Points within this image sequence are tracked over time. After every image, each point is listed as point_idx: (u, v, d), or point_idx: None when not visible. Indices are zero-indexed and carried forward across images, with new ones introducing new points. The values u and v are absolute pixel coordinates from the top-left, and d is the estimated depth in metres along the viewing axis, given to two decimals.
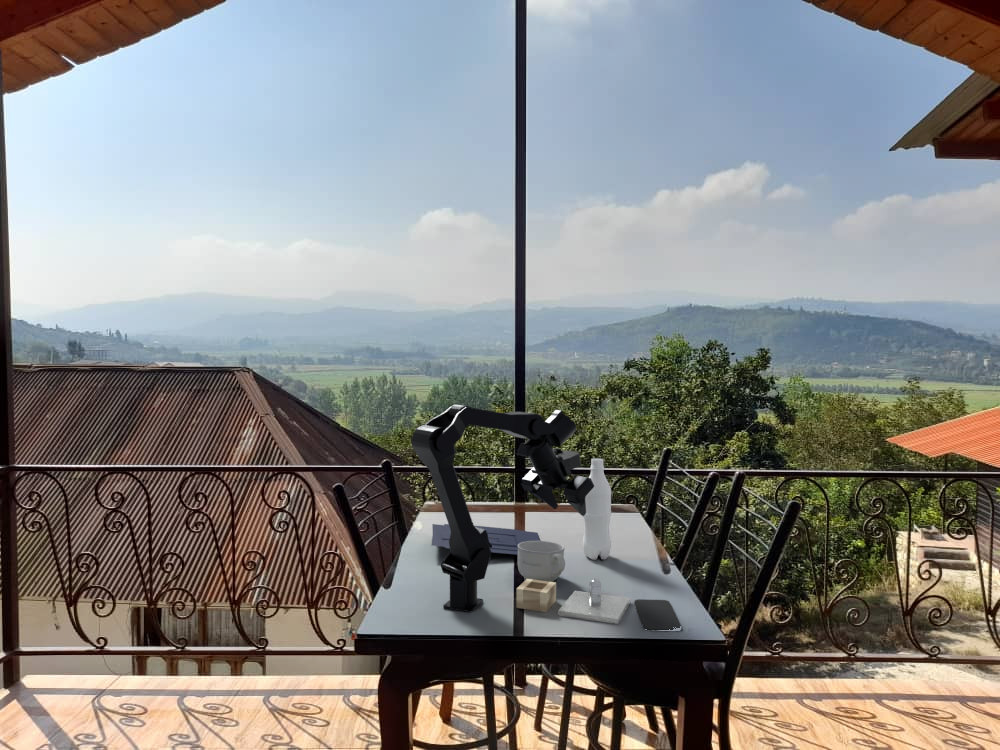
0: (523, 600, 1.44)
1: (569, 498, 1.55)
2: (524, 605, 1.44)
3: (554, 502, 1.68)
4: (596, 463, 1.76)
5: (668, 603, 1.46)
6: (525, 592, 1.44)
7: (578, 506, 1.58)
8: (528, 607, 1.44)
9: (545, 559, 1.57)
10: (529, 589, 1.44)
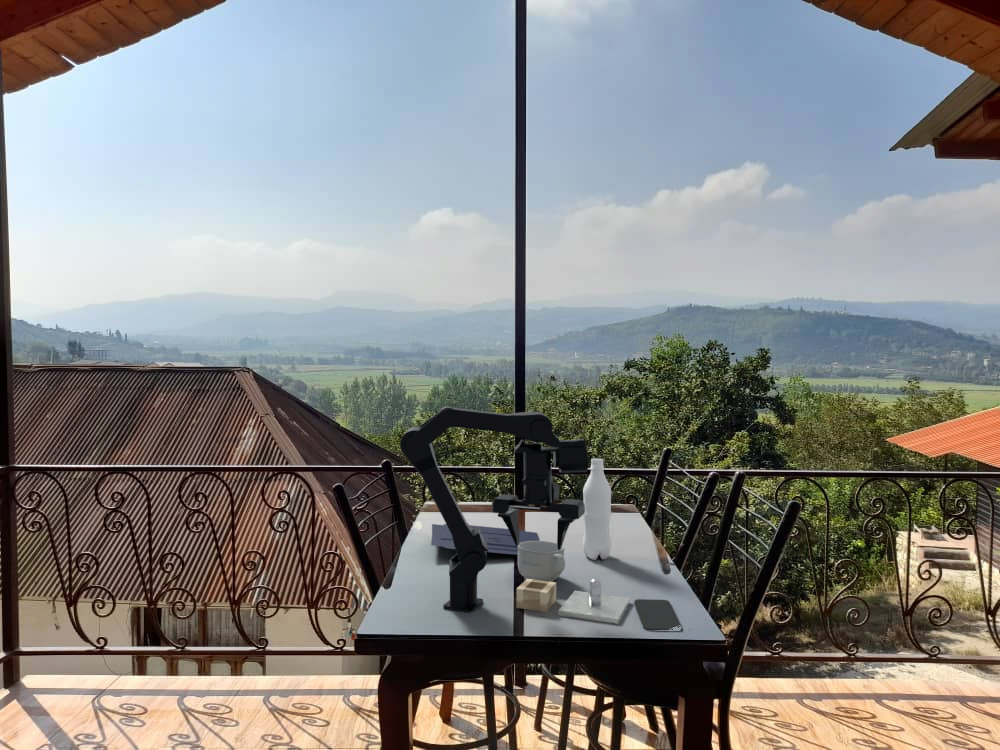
0: (523, 600, 1.44)
1: (564, 514, 1.41)
2: (524, 605, 1.44)
3: (518, 537, 1.48)
4: (596, 463, 1.76)
5: (668, 603, 1.46)
6: (525, 592, 1.44)
7: (564, 531, 1.43)
8: (528, 607, 1.44)
9: (545, 559, 1.57)
10: (529, 589, 1.44)
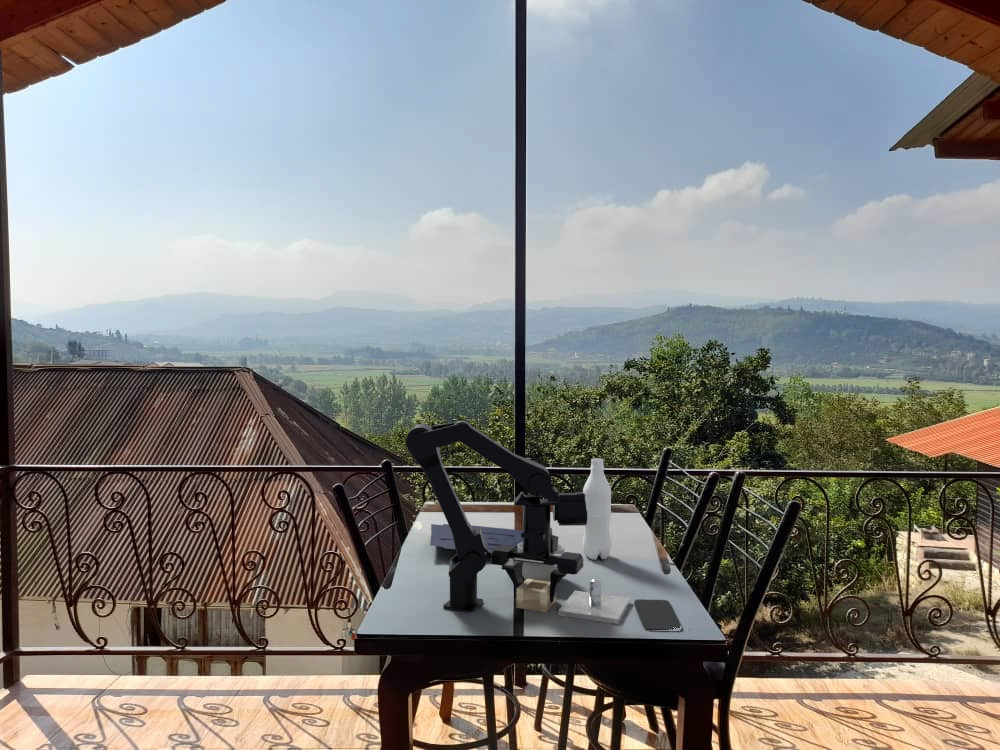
0: (523, 600, 1.44)
1: (563, 569, 1.41)
2: (524, 605, 1.44)
3: None
4: (596, 463, 1.76)
5: (668, 603, 1.46)
6: (525, 592, 1.44)
7: (556, 585, 1.43)
8: (528, 607, 1.44)
9: None
10: (529, 589, 1.44)
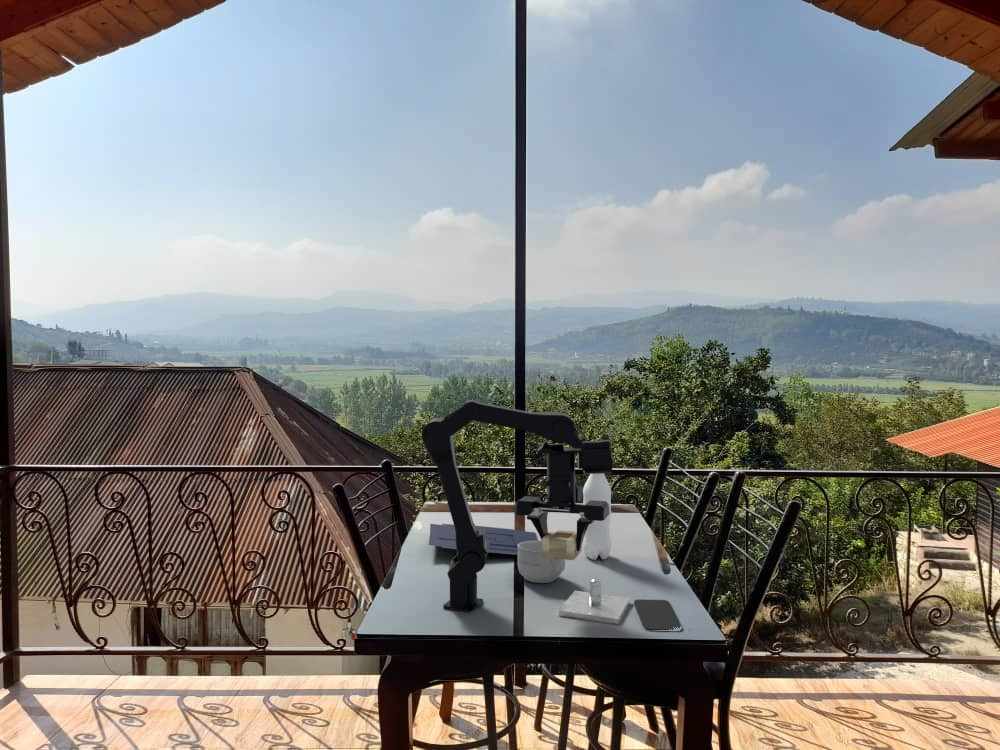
0: (549, 549, 1.43)
1: (589, 516, 1.39)
2: (550, 554, 1.43)
3: None
4: None
5: (668, 603, 1.46)
6: (551, 541, 1.42)
7: (583, 533, 1.42)
8: (554, 556, 1.42)
9: (545, 559, 1.57)
10: (555, 538, 1.43)
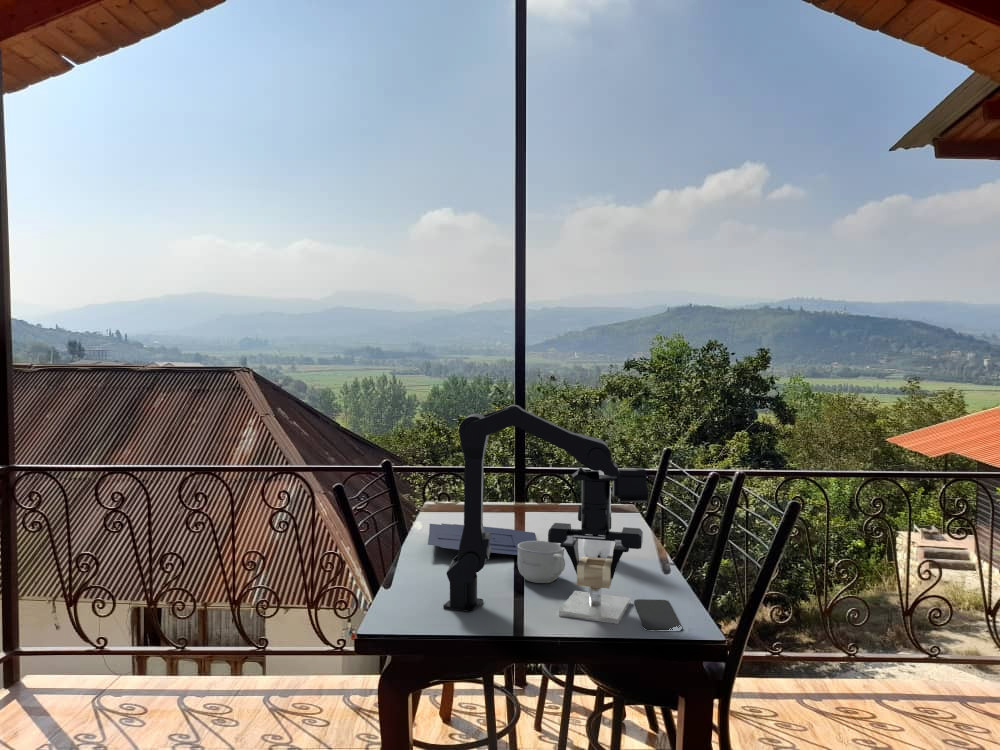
0: (584, 577, 1.41)
1: (627, 544, 1.39)
2: (585, 582, 1.41)
3: None
4: None
5: (668, 603, 1.46)
6: (586, 569, 1.41)
7: (618, 560, 1.41)
8: (589, 584, 1.41)
9: (545, 559, 1.57)
10: (590, 566, 1.41)
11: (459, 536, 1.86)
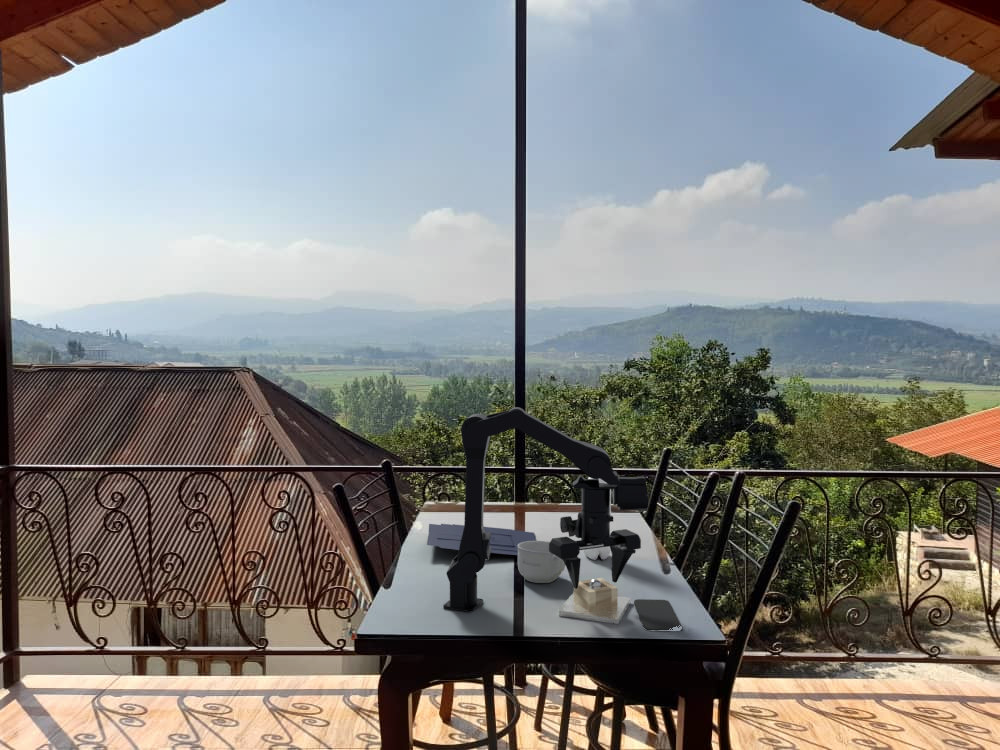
0: (596, 602, 1.40)
1: (631, 546, 1.43)
2: (597, 607, 1.40)
3: None
4: None
5: (668, 603, 1.46)
6: (598, 593, 1.40)
7: None
8: (600, 608, 1.41)
9: (545, 559, 1.57)
10: (599, 589, 1.41)
11: (458, 536, 1.86)
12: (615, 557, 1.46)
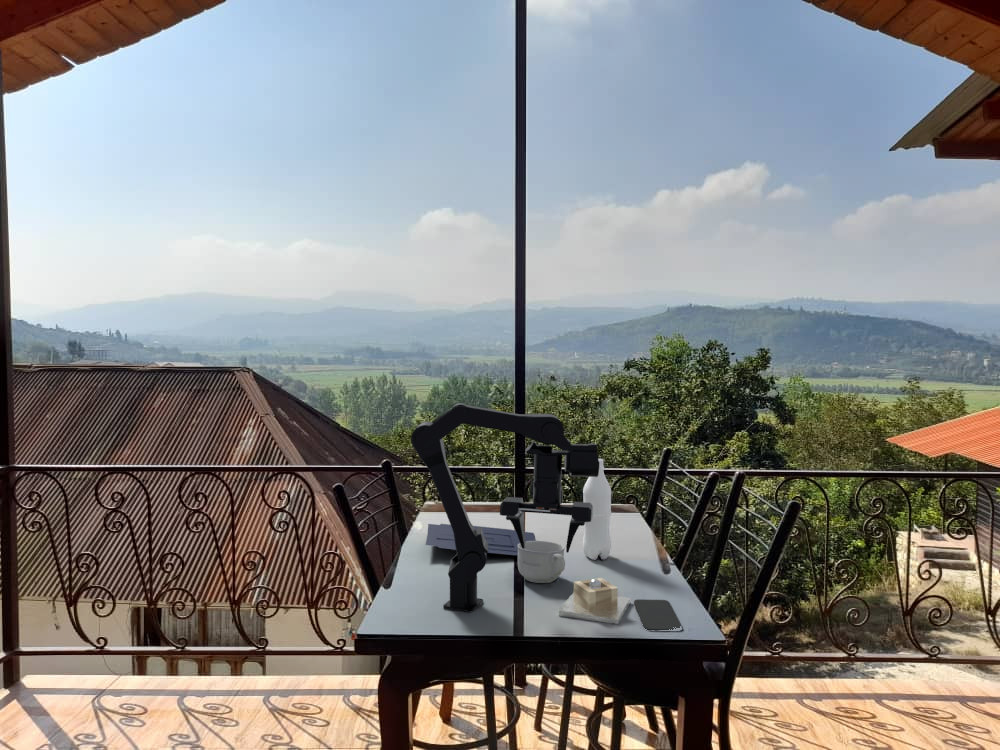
0: (596, 602, 1.40)
1: (577, 517, 1.41)
2: (597, 607, 1.40)
3: (524, 540, 1.47)
4: None
5: (668, 603, 1.46)
6: (598, 593, 1.40)
7: (574, 534, 1.43)
8: (600, 608, 1.41)
9: (545, 559, 1.57)
10: (599, 589, 1.41)
11: None
12: None
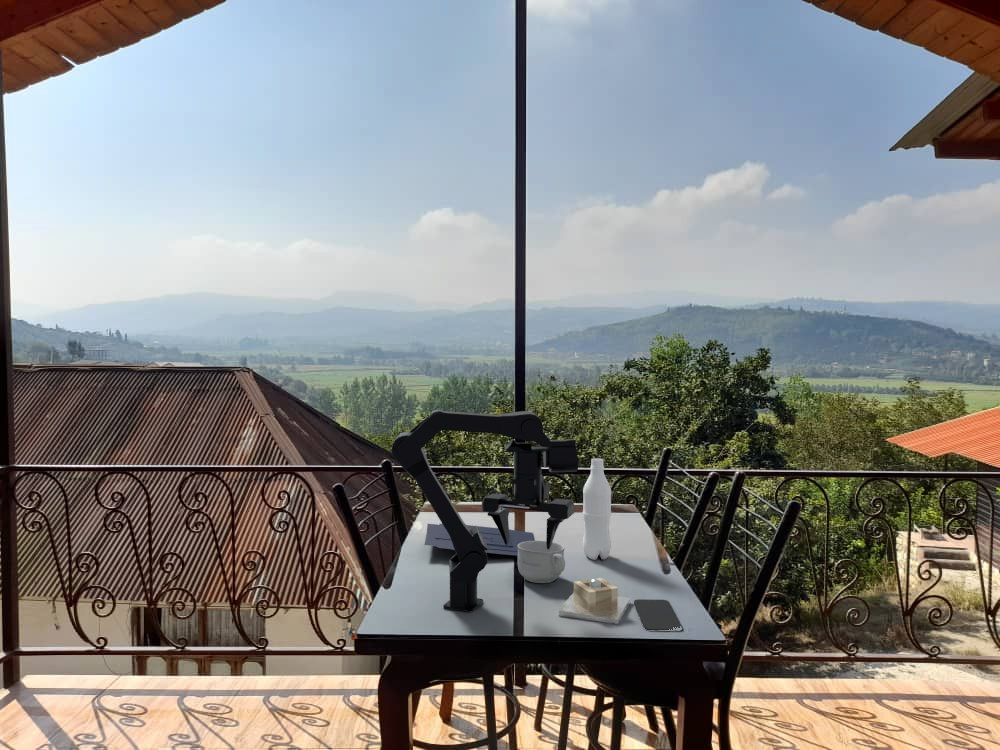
0: (596, 602, 1.40)
1: (553, 514, 1.41)
2: (597, 607, 1.40)
3: (508, 536, 1.48)
4: (596, 463, 1.76)
5: (667, 603, 1.46)
6: (598, 593, 1.40)
7: (553, 531, 1.43)
8: (600, 608, 1.41)
9: (545, 559, 1.57)
10: (599, 589, 1.41)
11: None
12: None
